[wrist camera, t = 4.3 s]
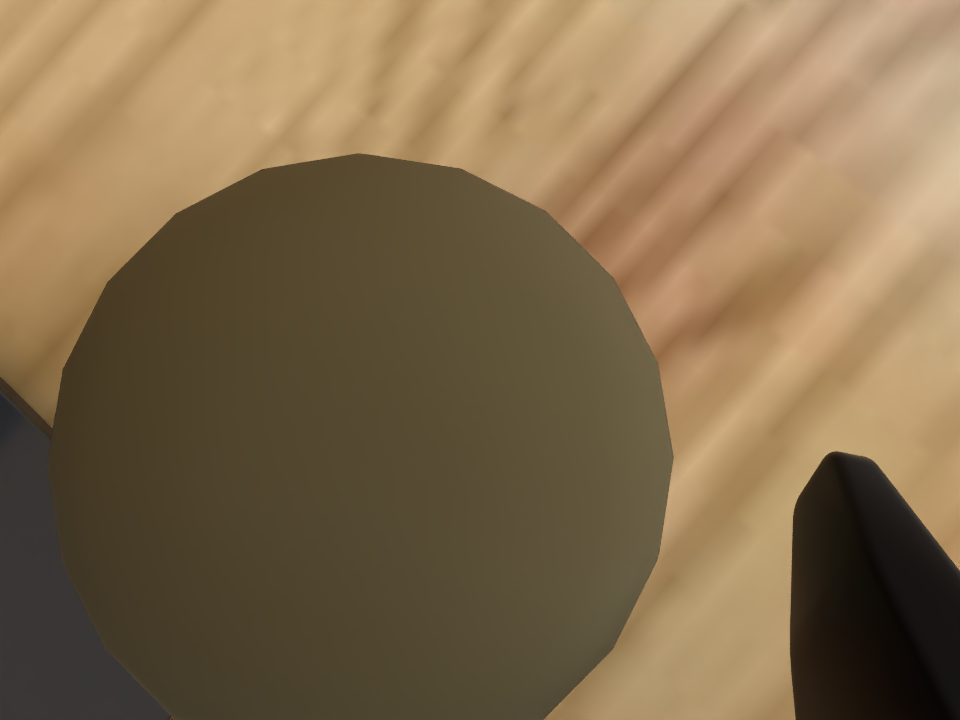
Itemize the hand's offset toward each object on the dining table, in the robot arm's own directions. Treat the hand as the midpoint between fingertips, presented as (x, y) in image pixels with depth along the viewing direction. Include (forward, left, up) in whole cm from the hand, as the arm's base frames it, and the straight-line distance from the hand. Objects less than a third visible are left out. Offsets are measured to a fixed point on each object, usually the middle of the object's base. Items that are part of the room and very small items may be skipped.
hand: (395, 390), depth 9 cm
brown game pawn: (0, 0, -8) cm, 8 cm away
